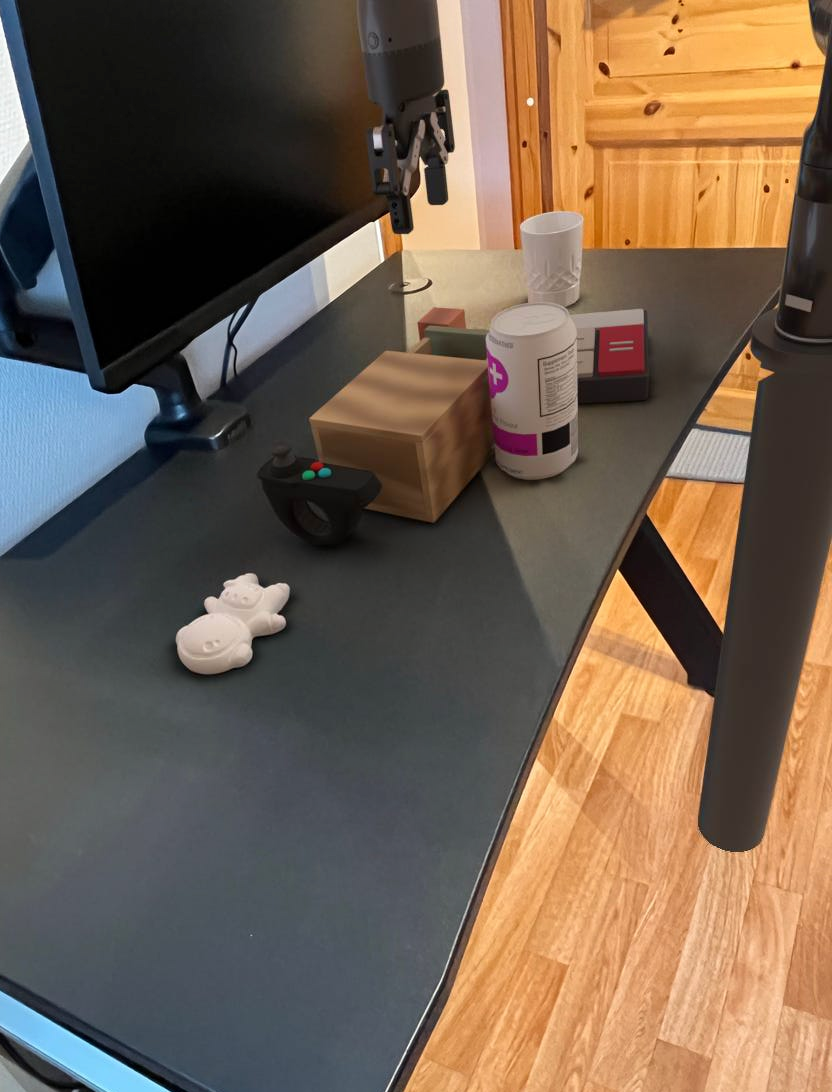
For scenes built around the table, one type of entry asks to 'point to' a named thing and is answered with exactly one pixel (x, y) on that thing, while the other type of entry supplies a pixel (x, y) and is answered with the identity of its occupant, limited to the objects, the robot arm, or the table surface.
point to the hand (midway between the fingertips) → (421, 218)
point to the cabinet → (411, 429)
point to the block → (442, 319)
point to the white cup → (552, 256)
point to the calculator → (612, 356)
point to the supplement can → (533, 389)
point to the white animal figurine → (232, 625)
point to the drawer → (453, 343)
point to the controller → (316, 495)
